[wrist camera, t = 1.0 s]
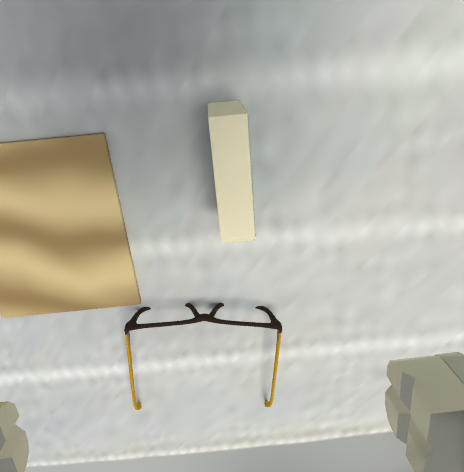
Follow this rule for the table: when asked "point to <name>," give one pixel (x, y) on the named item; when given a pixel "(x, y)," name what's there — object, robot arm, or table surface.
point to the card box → (232, 170)
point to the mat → (62, 228)
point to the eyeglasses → (198, 318)
